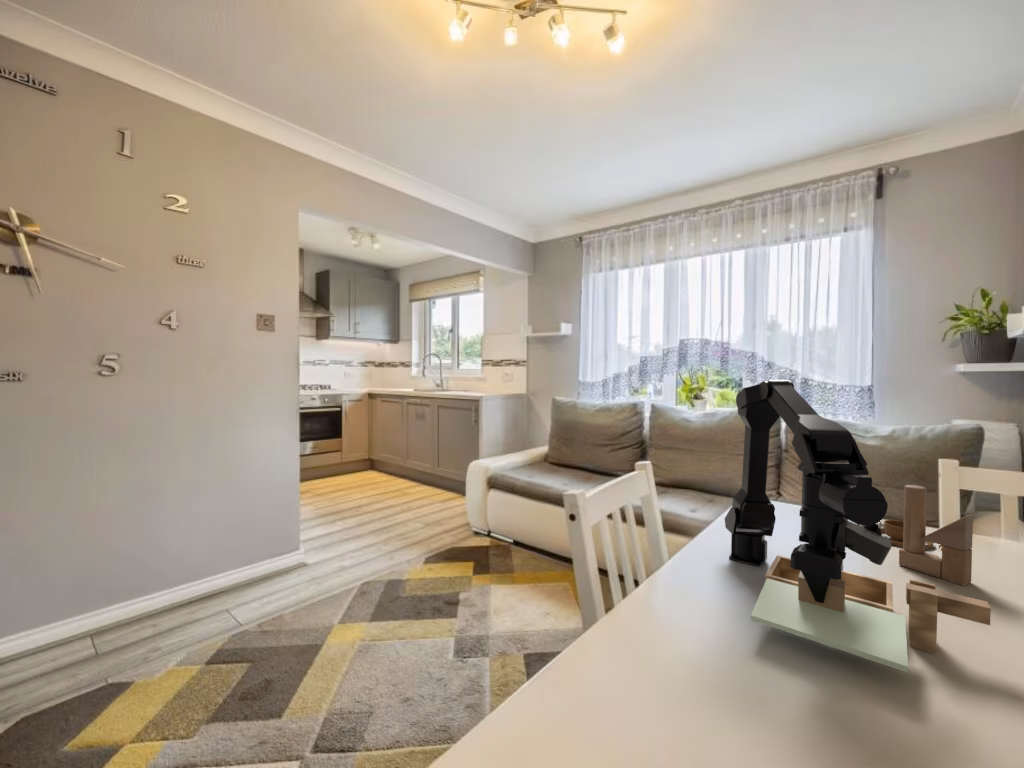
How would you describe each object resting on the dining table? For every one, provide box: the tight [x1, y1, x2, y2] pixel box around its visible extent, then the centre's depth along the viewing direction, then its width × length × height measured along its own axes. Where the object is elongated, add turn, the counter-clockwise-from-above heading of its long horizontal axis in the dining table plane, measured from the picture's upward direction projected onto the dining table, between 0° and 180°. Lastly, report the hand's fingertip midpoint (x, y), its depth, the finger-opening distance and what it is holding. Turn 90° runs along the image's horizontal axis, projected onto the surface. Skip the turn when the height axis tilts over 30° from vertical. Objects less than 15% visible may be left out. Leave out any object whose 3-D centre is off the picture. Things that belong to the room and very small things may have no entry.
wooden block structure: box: [898, 484, 974, 586], centre depth 93 cm, size 4×11×18 cm, turn 26°
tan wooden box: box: [764, 554, 938, 655], centre depth 78 cm, size 23×12×9 cm, turn 49°
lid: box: [750, 571, 909, 673], centre depth 68 cm, size 19×13×5 cm
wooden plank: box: [905, 582, 992, 626], centre depth 67 cm, size 9×2×2 cm, turn 49°
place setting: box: [879, 519, 943, 551], centre depth 115 cm, size 18×20×6 cm
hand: (820, 598), depth 71 cm, fingers closed on lid, 3 cm apart
